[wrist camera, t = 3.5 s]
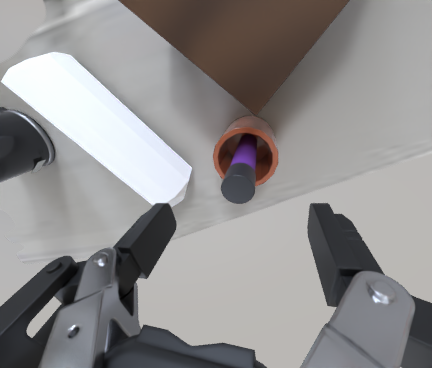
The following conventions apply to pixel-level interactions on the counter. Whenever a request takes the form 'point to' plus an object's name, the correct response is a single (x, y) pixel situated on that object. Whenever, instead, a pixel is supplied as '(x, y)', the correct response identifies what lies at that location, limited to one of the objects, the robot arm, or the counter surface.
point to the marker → (241, 172)
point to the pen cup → (265, 147)
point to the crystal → (100, 125)
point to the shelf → (241, 38)
